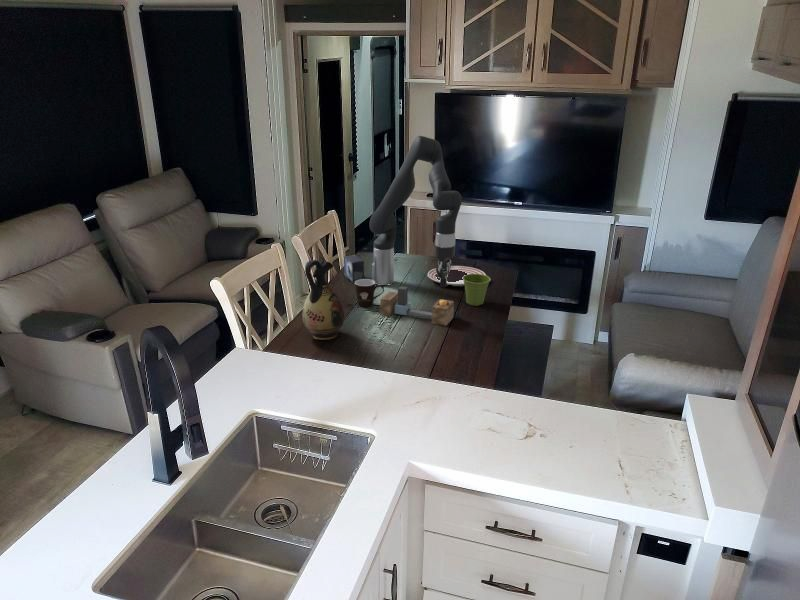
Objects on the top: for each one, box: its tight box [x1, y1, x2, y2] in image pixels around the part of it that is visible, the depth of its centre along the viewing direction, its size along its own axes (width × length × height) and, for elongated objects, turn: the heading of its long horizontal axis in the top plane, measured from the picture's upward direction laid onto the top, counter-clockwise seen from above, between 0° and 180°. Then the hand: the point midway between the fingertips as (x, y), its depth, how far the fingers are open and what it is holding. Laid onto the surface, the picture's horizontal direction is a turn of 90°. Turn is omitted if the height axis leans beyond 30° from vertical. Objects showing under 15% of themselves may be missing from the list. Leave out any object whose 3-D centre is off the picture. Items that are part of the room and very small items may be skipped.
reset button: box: [439, 299, 448, 306], centre depth 232 cm, size 3×3×4 cm
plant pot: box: [462, 274, 492, 307], centre depth 249 cm, size 12×12×11 cm
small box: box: [343, 254, 365, 283], centre depth 277 cm, size 11×6×10 cm, turn 28°
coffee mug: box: [354, 278, 385, 308], centre depth 247 cm, size 12×9×10 cm
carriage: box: [395, 286, 412, 316], centre depth 238 cm, size 5×5×10 cm
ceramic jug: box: [302, 259, 345, 341], centre depth 215 cm, size 17×15×30 cm
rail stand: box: [380, 291, 455, 326], centre depth 237 cm, size 28×9×7 cm, turn 68°
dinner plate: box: [427, 265, 487, 287], centre depth 278 cm, size 27×27×3 cm
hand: (443, 286), depth 229 cm, fingers closed
